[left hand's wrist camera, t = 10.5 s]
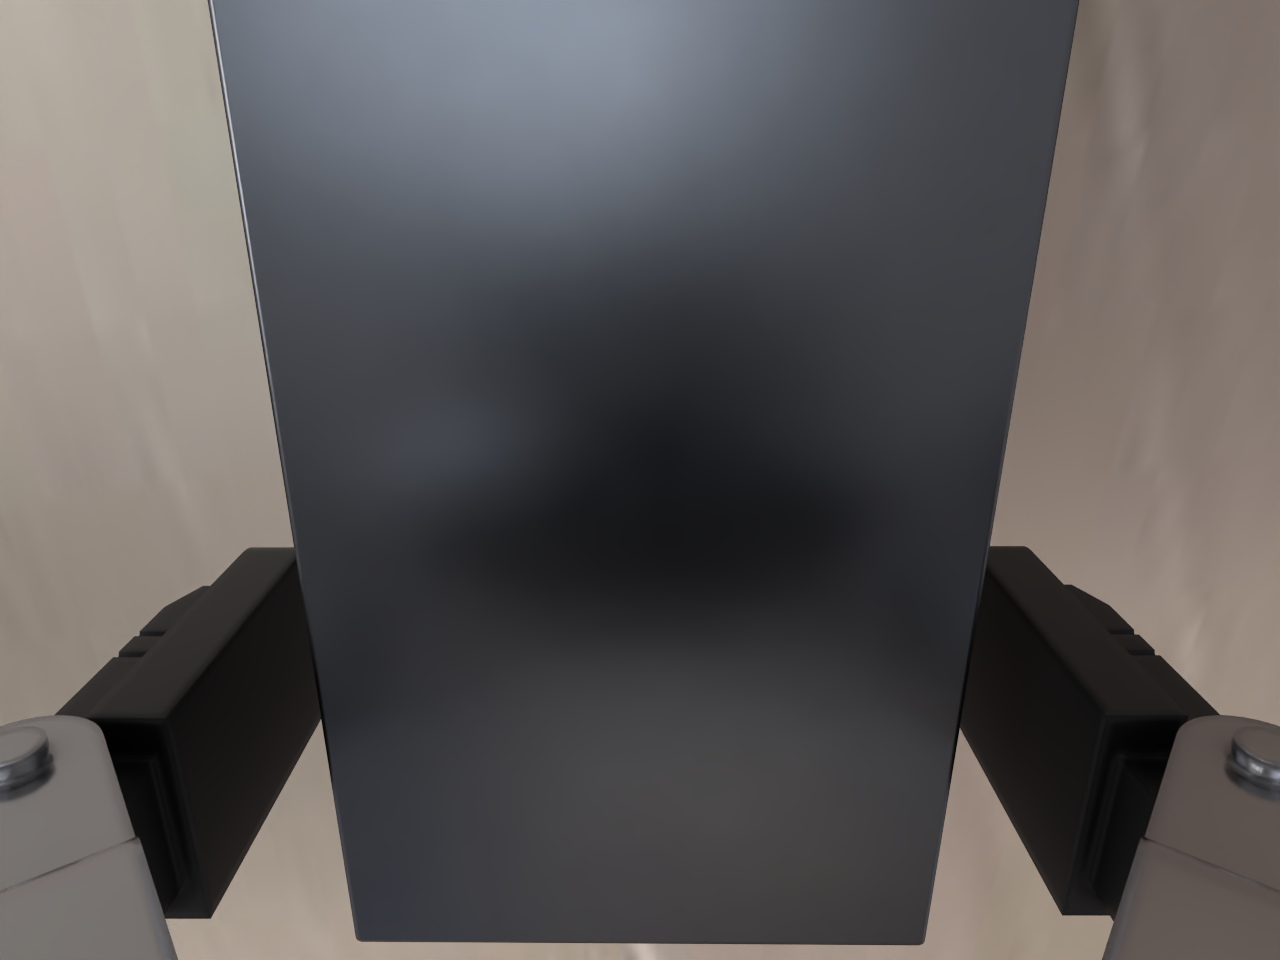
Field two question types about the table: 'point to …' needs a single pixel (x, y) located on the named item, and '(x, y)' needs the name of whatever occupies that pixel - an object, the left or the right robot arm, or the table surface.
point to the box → (642, 438)
